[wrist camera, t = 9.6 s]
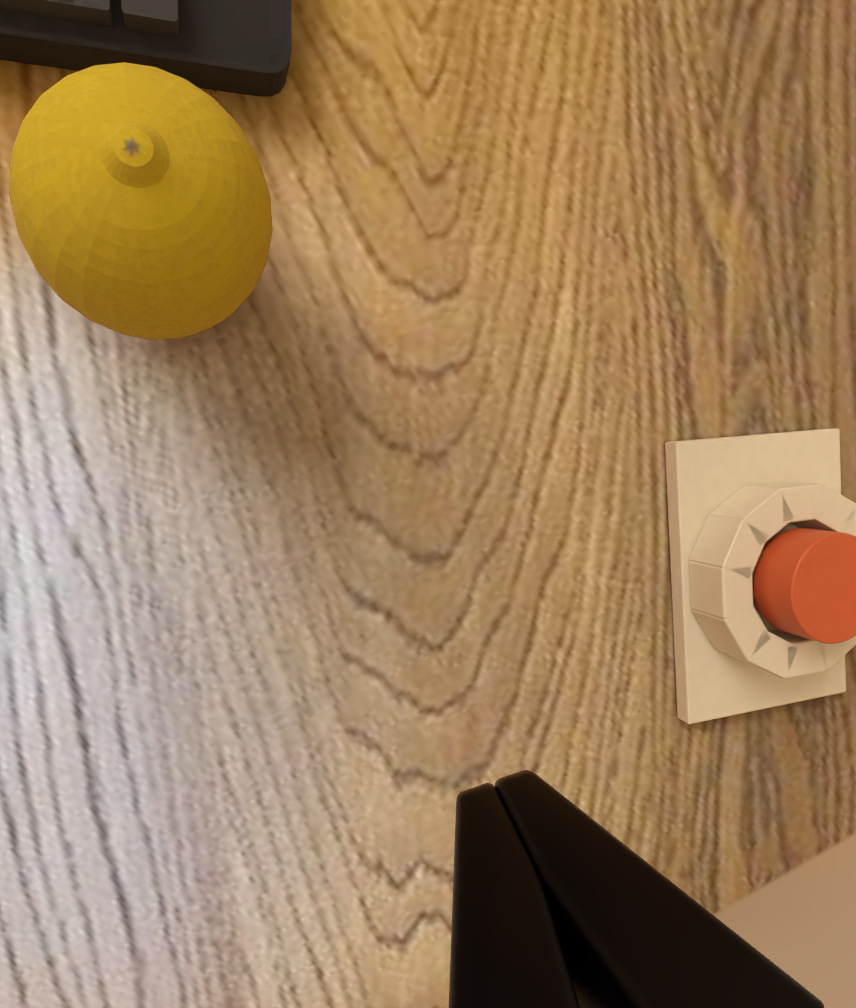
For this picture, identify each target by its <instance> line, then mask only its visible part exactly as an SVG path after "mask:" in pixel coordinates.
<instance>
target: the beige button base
mask: <svg viewBox="0 0 856 1008" xmlns="http://www.w3.org/2000/svg"><path fill="white" fill-rule="evenodd" d="M665 454H666V476H667V498H668V520H669V541H670V563H671V585H672V607H673V629H674V651H675V673H676V694H677V716H678V719H680V720H682V721H684V722H685V723H687V724H693V723H698V722H703V721H708V720H713V719H717V718H722V717H727V716H732V715H737V714H742V713H746V712H751V711H756V710H761V709H766V708H770V707H775V706H780V705H785V704H790V703H795V702H799V701H804V700H809V699H814V698H819V697H823V696H828V695H833V694H838V693H843V692H846V668H845V654H846V653H847V652H849V651H850V650H851V649H852V648H853V647H854V646H855V645H856V636H854V637H853V638H851V639H849V640H847V641H844V642H841V643H835V644H825V643H821V642H817V641H814V640H811V639H808V638H804V637H801V636H798V635H794V634H791V633H788V632H784V631H782V630H779V629H777V628H775V627H774V626H772V625H771V624H770V623H769V622H768V621H767V620H766V619H765V618H764V617H763V615H762V614H761V612H760V610H759V608H758V606H757V603H756V600H755V596H754V588H753V580H754V572H755V568H756V565H757V562H758V559H759V557H760V555H761V553H762V552H763V550H764V549H765V547H766V546H767V545H768V544H769V542H770V541H772V540H773V539H774V538H775V537H776V536H778V535H779V534H781V533H783V532H785V531H787V530H790V529H794V528H808V529H816V530H825V531H833V532H841V533H848V534H851V535H853V536H856V504H855V503H854V502H852V501H850V500H849V499H847V498H845V497H844V496H842V495H841V471H840V432H839V429H838V428H833V429H817V430H805V431H793V432H781V433H769V434H757V435H745V436H732V437H720V438H708V439H696V440H684V441H672V442H666V443H665Z"/></svg>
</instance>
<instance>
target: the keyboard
mask: <svg viewBox="0 0 856 1008" xmlns="http://www.w3.org/2000/svg"><path fill="white" fill-rule="evenodd" d="M290 54H291V0H0V59H3V60H10V61H17V62H24V63H31V64H38V65H46V66H53V67H60V68H67V69H74V70H83V69H86V68H89V67H91V66H94V65H103V64H113V63H123V62H125V63H132V64H138V65H145V66H152V67H156V68H159V69H161V70H164V71H166V72H169V73H171V74H174V75H176V76H179V77H181V78H184V79H186V80H187V81H189V82H190V83H192V84H193V85H195V86H196V87H201V88H208V89H215V90H222V91H229V92H236V93H243V94H251V95H258V96H272V95H274V94H276V93H278V92H280V91H281V89H282V88H283V86H284V84H285V80H286V75H287V71H288V66H289V61H290Z"/></svg>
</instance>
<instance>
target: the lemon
mask: <svg viewBox="0 0 856 1008" xmlns="http://www.w3.org/2000/svg"><path fill="white" fill-rule="evenodd" d="M9 195H10V201H11V205H12V209H13V214H14V218H15V222H16V227H17V231H18V234H19V237H20V239H21V241H22V243H23V245H24V247H25V249H26V250H27V252H28V254H29V256H30V258H31V260H32V262H33V264H34V266H35V268H36V269H37V271H38V273H39V274H40V275H41V276H42V277H43V278H44V279H45V281H46V282H47V283H48V284H49V285H50V286H51V288H52V289H53V290H54V291H55V292H56V293H57V295H58V296H59V297H60V298H61V299H62V300H63V301H64V302H66V303H67V304H69V305H70V306H71V307H73V308H74V309H75V310H77V311H78V312H80V313H81V314H82V315H84V316H85V317H87V318H88V319H89V320H91V321H93V322H95V323H98V324H100V325H102V326H105V327H107V328H109V329H112V330H114V331H116V332H119V333H121V334H124V335H130V336H135V337H141V338H147V339H153V340H155V339H169V338H183V337H186V336H189V335H192V334H195V333H198V332H201V331H204V330H207V329H210V328H211V327H213V326H215V325H216V324H218V323H219V322H221V321H222V320H224V319H225V318H227V317H228V316H230V315H232V314H233V313H234V312H235V311H236V310H237V309H238V307H239V306H240V305H241V304H242V303H243V302H244V301H245V299H246V298H247V297H248V296H249V295H250V294H251V293H252V291H253V290H254V288H255V285H256V283H257V281H258V279H259V277H260V275H261V273H262V271H263V269H264V267H265V265H266V262H267V257H268V252H269V247H270V242H271V236H272V216H271V201H270V193H269V190H268V187H267V184H266V181H265V178H264V174H263V171H262V168H261V165H260V162H259V159H258V157H257V155H256V153H255V152H254V150H253V148H252V146H251V145H250V143H249V141H248V140H247V138H246V136H245V134H244V133H243V131H242V129H241V128H240V126H239V125H238V124H237V122H236V121H235V120H234V119H233V118H232V117H231V116H230V115H229V114H228V113H227V112H226V111H225V110H224V109H223V107H222V106H221V105H220V104H219V103H218V102H217V101H216V100H215V99H214V98H212V97H211V96H209V95H208V94H207V93H205V92H204V91H202V90H201V89H199V88H198V87H196V86H195V85H193V84H192V83H190V82H189V81H187V80H186V79H184V78H181V77H179V76H176V75H174V74H171V73H169V72H166V71H164V70H161V69H159V68H156V67H152V66H145V65H138V64H132V63H125V62H123V63H113V64H103V65H94V66H91V67H89V68H86V69H83V70H81V71H78V72H75V73H73V74H70V75H67V76H66V77H64V78H63V79H62V80H60V81H59V82H58V83H56V84H55V85H54V86H52V87H51V88H50V89H48V90H47V91H46V92H44V93H43V94H42V95H41V96H40V97H39V98H38V100H37V101H36V103H35V104H34V105H33V107H32V108H31V110H30V111H29V112H28V114H27V115H26V117H25V118H24V119H23V121H22V124H21V127H20V130H19V133H18V135H17V138H16V141H15V144H14V147H13V150H12V153H11V165H10V186H9Z"/></svg>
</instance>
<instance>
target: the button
mask: <svg viewBox="0 0 856 1008" xmlns="http://www.w3.org/2000/svg"><path fill="white" fill-rule="evenodd" d="M753 588H754V596H755V600H756V603H757V606H758V608H759V610H760V612H761V614H762V615H763V617H764V618H765V619H766V620H767V621H768V622H769V623H770V624H771V625H772V626H774V627H775V628H777V629H779V630H782V631H784V632H788V633H791V634H794V635H798V636H801V637H804V638H808V639H811V640H814V641H817V642H821V643H825V644H835V643H841V642H844V641H847V640H849V639H851V638H853V637H854V636H856V536H853V535H851V534H848V533H841V532H833V531H825V530H816V529H808V528H794V529H790V530H787V531H785V532H783V533H781V534H779V535H778V536H776V537H775V538H774V539H773V540H772V541H770V542H769V544H768V545H767V546H766V547H765V549H764V550H763V552H762V553H761V555H760V557H759V559H758V562H757V565H756V568H755V572H754V580H753Z"/></svg>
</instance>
